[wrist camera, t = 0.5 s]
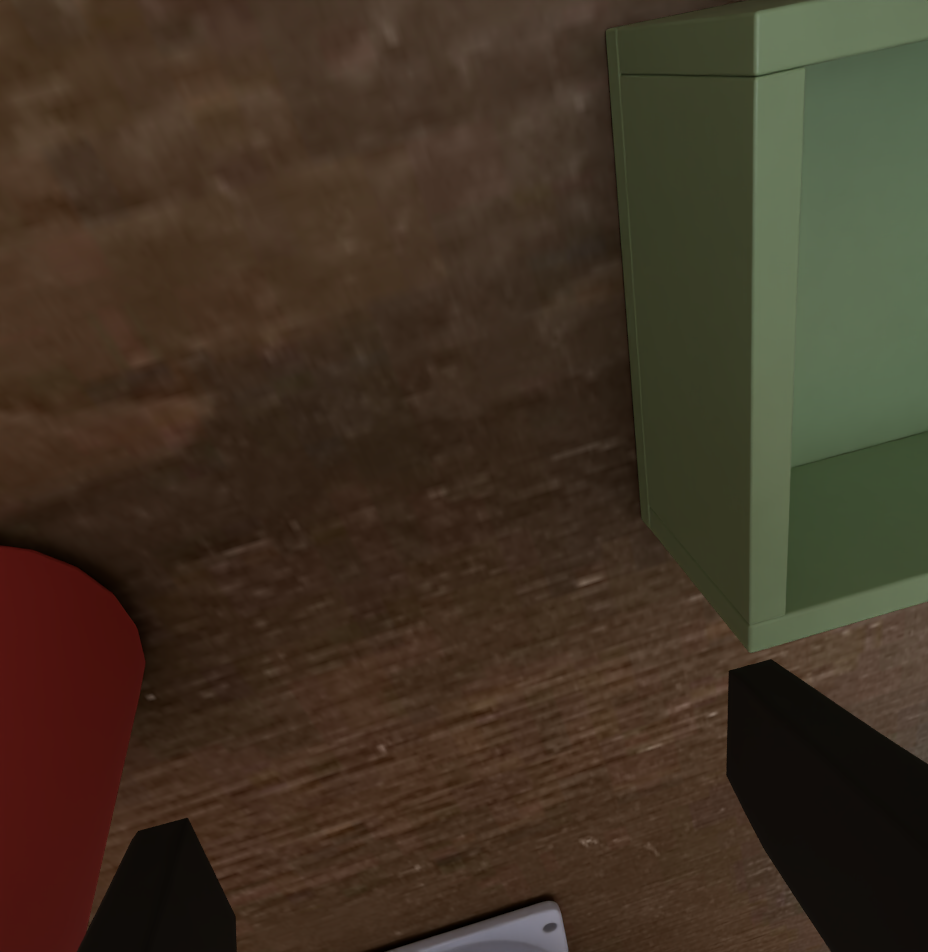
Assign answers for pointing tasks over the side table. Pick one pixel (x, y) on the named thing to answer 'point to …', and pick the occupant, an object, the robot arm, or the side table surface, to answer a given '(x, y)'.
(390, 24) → the side table surface
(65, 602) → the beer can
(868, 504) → the sage green bin
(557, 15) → the side table surface
